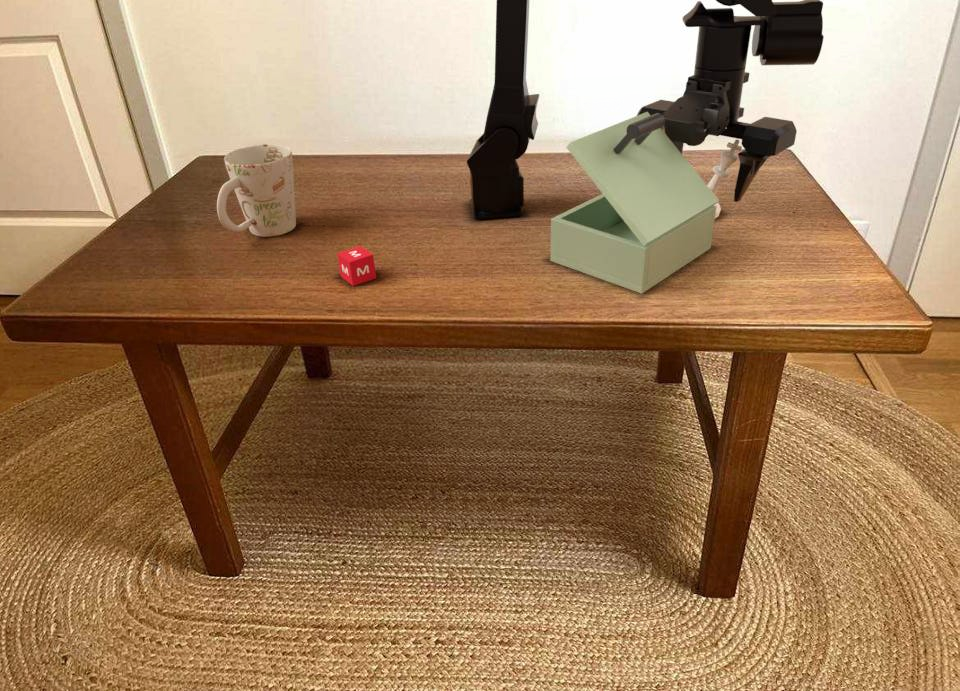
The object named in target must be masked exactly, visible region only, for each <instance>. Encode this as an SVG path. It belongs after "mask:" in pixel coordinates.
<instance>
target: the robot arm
mask: <svg viewBox="0 0 960 691" xmlns="http://www.w3.org/2000/svg"><path fill="white" fill-rule="evenodd" d="M715 1H716V2H717V3H719V4H720V5H722V6H725V7H722V8H721V7H719V8H718V7H717V8H716V7H715V8H706V7H705V5H704V3H702V1H701V0H698V1H697V2H696V3H695V5H694V7H692V9H691V10H690V11H688V12H687V13H686V14H684V15H683V17H682V22H683V24H684V26H685V27H686V28H698V34H697V45H696V52H695V61H694V62H695V63H694V71H693V75H690V76H688V77H687V80H686V83H685V90H684V92H683V95H682V96H680V97H678V98H677V99H676V100H675V101H673V100H672V101H671V100H665V99H658V100H656V101H654V102H651V103H649V104H646V105H644V106H641V108H639V110H638V112H637V114H636V116H638V115H640V114H643V113H645V112H648V113H649V114H650V116H651V115H654V114H656V113H660V114H662V115H663V116H664V118H665V124H664V126H663V127H662V128H661V129H662V130H663V132H664V133H665V134H666V135H667V137H668V138H669V139H670V140H671V141H672V143H673V144H674V145H675V146H676V148H677V149H678V150H679V151H680V153H681V154H682V155H683V152H684V151H683V150H684V144H686V145H687V146H689V147H697V146H700V145H701V144H703V143H704V142H705V140H706V138H707V137H708V136H714V137H719V136H720V137H721V136H722V137H727V138H731V139H736V140H741V146H742V148H743V150H741V151H739V152H738V153H737V158H738V159H739V169H738V174H737V177H736V182H735V187H734V196H733V201H734V202H735V203H738V202H739V201H741V200H742V199H743V197H744V195H745V193H746V192H747V190H748V188H749V187H750V185H751V183H752V182H753V180H754V179H755V178H756V176H757V174H758V173H759V170H761V168H762V166H763V165H764V164H765V163H766V161H767V160H768V159H769V158H770V157H775V156H777V155H778V154H781V153H782V152H784V151H786V150H787V149H789V148H791V147H793V146H794V145H795V142H796V137H797V132H798V131H797V128H796V126H795V123H794V121H793V120H788V119H783V118H782V119H781V118H776V117H770V116H764V117H761V118H760V119H757V120H756V121H753V122H751V123H749V122H743V121H739V119H740V118H742V117H744V112H745V107H741V102H742V95H743V87H744V84H745V83H748V82H749V78H750V72H748V71H746V67H747V59H748V53H749V46H750V39H751V33H752V39H751V40H752V41H751V55H752V57H759V62H760V66H810V65H811V66H812V65H815V64H816V63H817V61H818V59H819V57H820V54H821V51H822V48H823V42H824V38H825V37H824V36H825V35H823V26H824V25H823V24H824V21H823V8H824V2H823V1H822V0H800V1H773V0H715ZM738 5H739V6H741V7H743V8H744V9H746V10H747V11H748V12H749V13H751V14H752V15H735V12H734V8H732V6H738ZM495 6H496V7H495V8H496V10H495V18H496V19H495V46H494V47H495V49H494V50H495V51H494V53H495V55H494V84H493V87H492V88H493V89H492V92H491V93H492V94H491V97H490V100H489V107H488V110H487V115H486V120H485V125H484V131H483V133H482V135H480V136H479V137H478V138H477V139H476V141H475V143H474V145H473V148H472V150H471V152H470V154H469V156H468V157H467V160H466V165H467V167H468V169H469V178H470V199H469V206H470V209H471V213H472V217H473V219H474V220H487V219H500V218H513V217H521V216H523V211H522V210H523V209H522V208H523V207H524V205H525V198H524V197H525V192H524V190H525V189H524V186H525V185H524V176H523V174H522V172H521V171H520V165H519V163H518V162H517V160H518V159H520V158H521V157H522V156H523V155H524V154H525V153H526V151H527V150H528V147H529V144H530V140H531V141H534V140H535V137H536V134H537V129H538V126H539V122H538V118H537V109H538V108H537V107H538V102H539V98H540V94H539V93H535V94H529V93H530V92H529V88H528V84H527V62H528V60H527V59H528V43H529V42H528V38H529V22H530V21H529V17H530V0H496V4H495ZM752 26H754V28H753V32H752Z"/></svg>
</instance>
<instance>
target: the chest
mask: <svg viewBox="0 0 960 691" xmlns="http://www.w3.org/2000/svg"><path fill="white" fill-rule="evenodd" d="M715 214H716V206H712V207H710V208H708V209H707V210H705V211H703V212H702V213H700V214H698V215H697V216H695V217H693V218H692V219H690V220H688V221H686V222H685V223H683V224H681V225H680V226H678V227H676V228H675V229H673V230H671V231H670V232H668V233H666V234H665V235H663V236H661V237H660V238H658V239H656V240H654V241H653V242H651V243H649V244H648V245H646V246H643V245H642V243H641V242H640V241H639V239H638V238H637V237H636V236H635V234H634V233H633V232H632V231H631V229H630V228H629V227H628V225H627V224H626V223H625V222H624V220H623V219H622V218H621V217H620V215H619V214H618V213H617V211H616V210H615V209H614V208H613V206H612V205H611V204H610V202H609V201H608V200H607V199H606V197H605V196H604V195H603V194H602V193H601V194H599V195H596V196H595V197H593V198H591V199H589V200H586V201H585V202H582V203H581V204H578V205H576V206H574V207H572V208H570V209H568V210H566V211H564V212H562V213H560V214H558V215H556V216H554V217H552V218H550V251H549V252H550V254H549V256H550V257H549V258H550V262H553V263H555V264H558V265H561V266H564V267H567V268H569V269H571V270H574V271H578V272H580V273H583V274H586V275H588V276H591V277H595V278H597V279H599V280H601V281H605V282H607V283H610V284H613V285H616V286H619V287H621V288H625V289H627V290H631V291H633V292H636V293H639V294H641V295H642V294H644V293H645V292H647V291H648V290H650V289H651V288H653V287H654V286H656V285H657V284H659V283H660V282H662V281H664V280H665V279H667V278H668V277H669V276H671V275H672V274H674V273H675V272H677V271H679V270H680V269H681V268H683V267H685V266H686V265H687V264H689V263H691V262H692V261H693V260H695V259H697V258H698V257H700V256H701V255H703V254H704V253H706V252H707V251H709V250H711V249H712V248H711V246H712V242H713V234H714V227H715V220H716V218H715Z"/></svg>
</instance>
